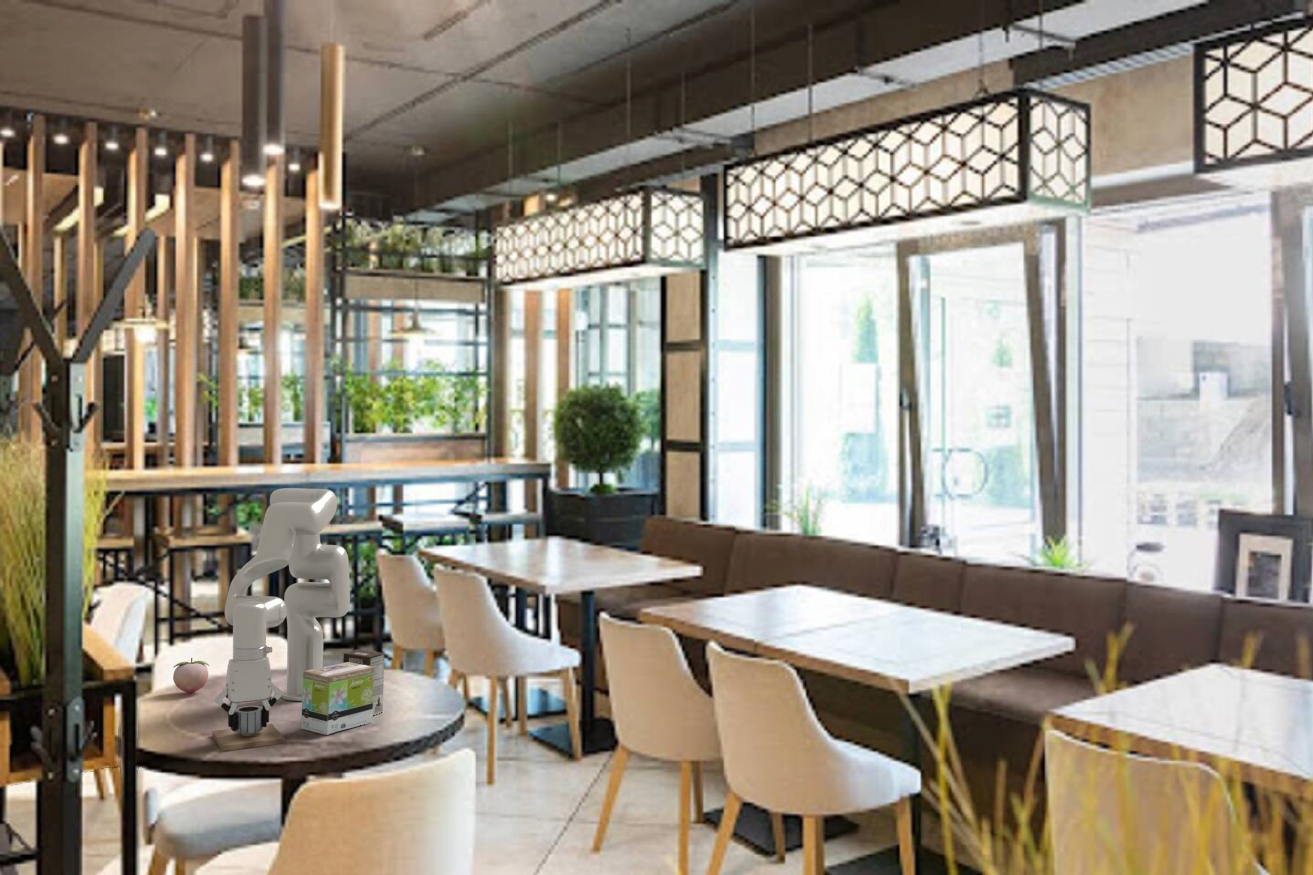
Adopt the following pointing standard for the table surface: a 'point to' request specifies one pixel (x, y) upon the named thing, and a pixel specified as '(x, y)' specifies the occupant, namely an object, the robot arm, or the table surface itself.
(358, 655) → the coffee box
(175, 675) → the decorative fruit
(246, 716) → the grey hollow cylinder
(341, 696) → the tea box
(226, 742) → the shaft base
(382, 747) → the table surface
